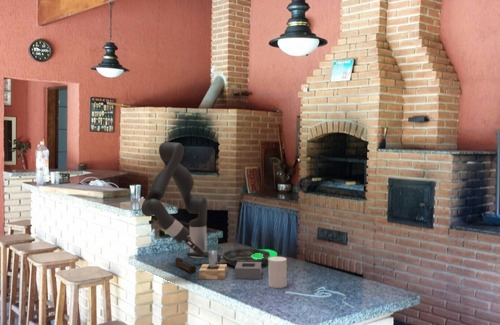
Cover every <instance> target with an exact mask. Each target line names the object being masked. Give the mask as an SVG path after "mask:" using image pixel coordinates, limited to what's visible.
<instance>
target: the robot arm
mask: <svg viewBox="0 0 500 325" xmlns="http://www.w3.org/2000/svg"><path fill="white" fill-rule="evenodd" d="M184 152H185V149H184V146H183V144H182V143H180V142H173V141H172V142H170V141H169V142H167V141H166V142H163V143H160V144H159V146H158V154H159V156H160V159H161V161H162V162H163V164H164V165H165V167H164V168H163V169H162V170H161V171H160V172H158V174H156V176H155V177H154V179H153V180H152V183H151V187H150V188H149V191H148V194H147V195H146V197H145V198H144V200H143V202H142V205H141V207H140V208H141V213H142V214H143V215H144V217H148V218H149V217H152V216H154V217H155V218H156V219H157V220H156V223H157V224H158V225H159V227H160V228H161V229H163V230H164V231H165V233H166V234H167V235H169V236H170V237H171V238H172V239H173V240H174V241H175V242H176V243H177V244H180V243H182V242H183V244H185V246H187V247H188V248H189V253H190V252H197V253H198V254H199V255H200V256H201V257H194V256H189V257H190V258H191V259H204V258H206V257H202V256H203V255H204V252H207V253H208V250H207V248H208V246H207V238H208V237H207V235H208V234H207V221H208V201H207V198H206V197H204V196H193V195H192V193H191V192H192V190H193V187H194V184H195V181H194V178H193V176H192V174H191V171H189V170H188V168H186V167H185V166H184V165H182V164H181V161H182V160H183V157H184V154H185V153H184ZM171 179H173V181H174V183H175V186H176V188H177V189H178V191H179V193H180V195H181V197H182V200H183V203H184V206H185V209H186V211H187V212H188V213H189V214H196V215H197V217H196V218H194V219H191V220H190V221H189V229H187V227H185V225H183V223H181V222H180V221H178V220H177V219H176V218H175V217H174V216H173V215H171V213H170V212H169V211H168V210H167V208H166V207H165V206H164V204H163V203H162V202H161V200H162V199H163V197H164V196H165V195H166V194H165V193H166V190H167V188H168V185H169V183H170V181H171Z"/></svg>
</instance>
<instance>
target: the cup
mask: <svg viewBox="0 0 500 325" xmlns="http://www.w3.org/2000/svg"><path fill="white" fill-rule="evenodd" d="M287 259H288V258H286V257H284V256H269V257H268V259H267V264H268V266H267V267H268V269H267V270H268V287H270V288H274V289H283V288H286V287H287V278H288V276H287V274H288V273H287V272H288V271H287V264H288V263H287Z"/></svg>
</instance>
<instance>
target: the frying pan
mask: <svg viewBox="0 0 500 325" xmlns="http://www.w3.org/2000/svg"><path fill="white" fill-rule="evenodd" d="M255 253H261V254H263V257H264V258H262V259H257V260H254V259H252V257H251V255H252V254H255ZM186 256H189V257H190V256H194V257H201V256H200V255H199V254H198V253H197V252H190V251H189V252H187V253H186ZM202 257H205V258H209V252H208V251H207V252H204V255H203V256H202ZM270 257H271V253H270V252H268V251H266V250H262V249H257V248H236V249H229V250H225V251H224V252H222V254H218V253H217V263H225V264H229V265H231V266H234V267H236V264H237V262H261V266H262V265H264V264H265V263H266V262H268V259H269V258H270Z"/></svg>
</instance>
